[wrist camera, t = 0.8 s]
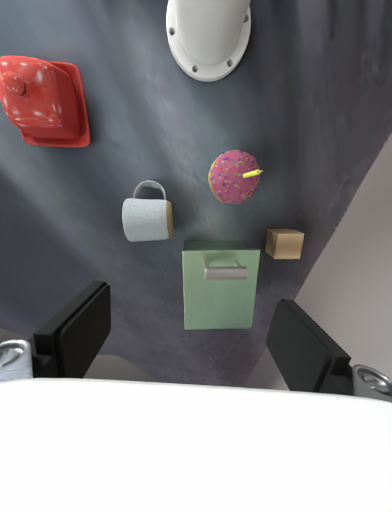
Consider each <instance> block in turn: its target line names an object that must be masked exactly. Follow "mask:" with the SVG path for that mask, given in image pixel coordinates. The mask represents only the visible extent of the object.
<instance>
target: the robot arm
mask: <svg viewBox="0 0 392 512" xmlns="http://www.w3.org/2000/svg"><path fill="white" fill-rule="evenodd" d="M249 3H250V0H169V2H168V8H167V15H166V27H167V36H168V41H169V46H170V49H171V52H172V54H173V56H174V58H175V60H176V62H177V64H178V65H179V66H180V67H181V69H182V70H183V71H184V72H185V73H186V74H188V75H189V76H191V77H192V78H194V79H196V80H199V81H204V82H212V81H217V80H219V79H222V78H224V77H225V76H227V75H228V74H230V73H231V72H232V71H233V70H234V69H235V68H236V66H237V65H238V63H239V62H240V60H241V58H242V56H243V54H244V52H245V49H246V46H247V44H248V40H249V35H250V28H251V14H250V7H249ZM244 22H245V23H244ZM172 34H173V35H172ZM228 65H230V67H229V66H228ZM194 71H196V73H195V72H194ZM110 329H111V305H110V285H107V283H106V282H102V281H93V282H92V283H91V284H90V285H89V286H87V287H86V288H85V289H84V290H83V291H82V292H81V293H79V294H78V295H77V296H76V297H75V298H74V299H72V300H71V301H70V302H69V303H68V304H67V305H66V306H64V307H63V308H62V309H61V310H60V311H59V312H57V313H56V314H55V315H54V316H53V317H52V318H51V319H49V320H48V321H47V322H46V323H45V324H44V325H43V326H41V327H40V328H39V329H38V330H37V331H36V332H34V333H33V336H32V337H31V338H29V340H27V341H25V340H20V339H16V340H9V341H4V342H1V343H0V512H392V380H390V379H389V378H388V377H386V376H385V375H383V374H382V373H380V372H378V371H377V370H375V369H373V368H370V367H368V366H364V365H355V366H353V367H351V366H350V365H349V362H350V360H351V357H350V356H349V355H348V354H347V353H346V352H345V351H344V350H343V349H342V348H341V347H340V346H339V345H338V344H337V343H336V342H335V341H334V340H333V339H332V338H331V337H330V336H329V335H328V334H327V333H326V332H325V331H324V330H323V329H322V328H321V327H320V326H319V325H318V324H317V323H316V322H315V321H314V320H312V318H311V317H309V315H307V313H306V312H305V311H303V310H302V308H300V307H299V306H298V305H297V304H296V303H295V302H294V301H293V300H287V299H281V300H280V301H279V302H277V305H276V308H275V312H274V315H273V319H272V322H271V325H270V329H269V332H268V336H267V339H266V344H267V347H268V349H269V351H270V353H271V355H272V357H273V359H274V360H275V363H276V365H277V366H278V368H279V370H280V372H281V374H282V376H283V378H284V380H285V382H286V384H287V386H288V388H289V390H290V391H284V390H269V389H254V388H239V387H223V386H207V385H191V384H174V383H156V382H137V381H120V380H99V379H83V377H84V375H85V373H86V372H87V370H88V368H89V367H90V365H91V363H92V361H93V360H94V358H95V357H96V355H97V353H98V352H99V350H100V348H101V347H102V345H103V343H104V342H105V340H106V338H107V336H108V335H109V333H110Z"/></svg>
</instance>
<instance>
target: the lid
mask: <svg viewBox="0 0 392 512" xmlns="http://www.w3.org/2000/svg"><path fill="white" fill-rule="evenodd" d="M182 255H183V288H184V321H185V329H227V328H251V326H252V318H253V309H254V301H255V292H256V284H257V275H258V267H259V258H260V249H206V250H183V251H182Z"/></svg>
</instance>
